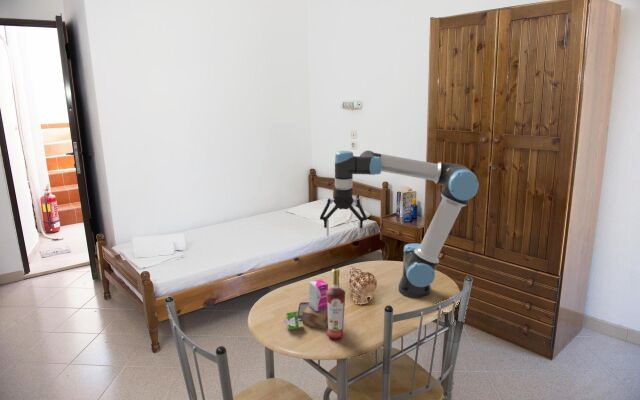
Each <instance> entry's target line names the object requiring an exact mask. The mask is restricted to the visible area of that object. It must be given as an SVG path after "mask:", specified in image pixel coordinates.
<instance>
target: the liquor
mask: <svg viewBox="0 0 640 400" xmlns="http://www.w3.org/2000/svg"><path fill="white" fill-rule="evenodd" d="M331 271H332V272H331V274H332V282H331V283H332V285H331V288H328V290H327V291H326V300H327V318H328V326H327V331H326V335H327V337H329V338H330V339H332V340H340V339H341V338H342V337H344V335H345V331H344V322H345V321H344V320H345V319H344V317H345V304H346V302H345V301H346V291H345V290H344V289H343V288H341V287H340V269H339V268H332V269H331Z"/></svg>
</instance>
